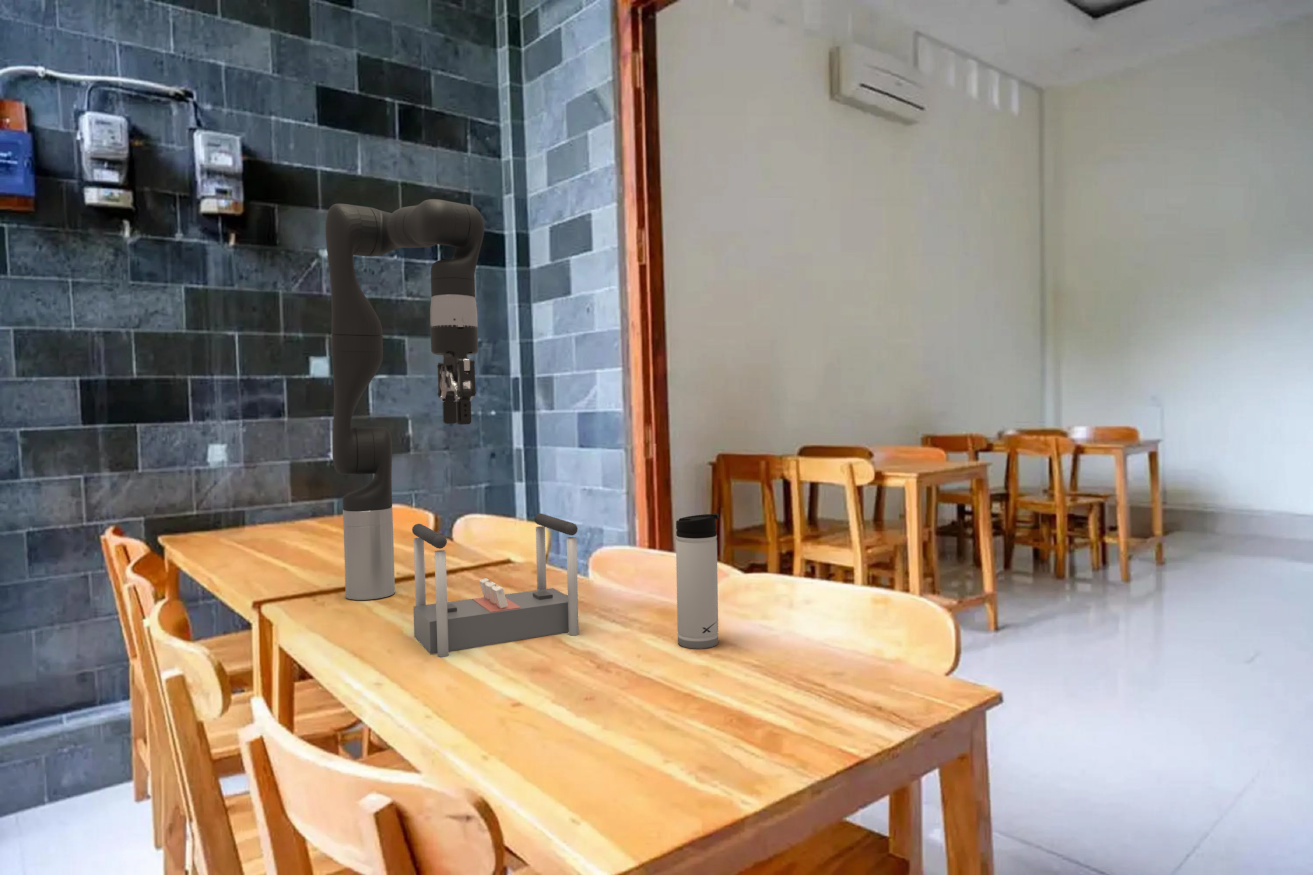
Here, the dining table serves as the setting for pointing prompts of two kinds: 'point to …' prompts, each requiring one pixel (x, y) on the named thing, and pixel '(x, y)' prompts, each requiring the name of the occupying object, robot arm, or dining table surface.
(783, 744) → the dining table surface
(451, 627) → the pdu
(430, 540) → the dark grey rounded rod
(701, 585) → the travel mug
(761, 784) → the dining table surface
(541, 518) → the dark grey rod
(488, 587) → the breaker paddles
